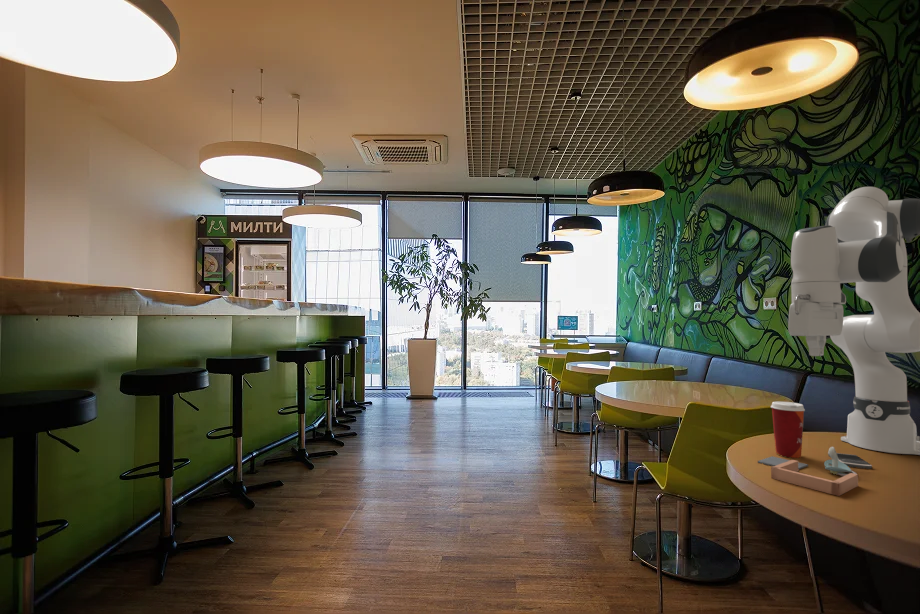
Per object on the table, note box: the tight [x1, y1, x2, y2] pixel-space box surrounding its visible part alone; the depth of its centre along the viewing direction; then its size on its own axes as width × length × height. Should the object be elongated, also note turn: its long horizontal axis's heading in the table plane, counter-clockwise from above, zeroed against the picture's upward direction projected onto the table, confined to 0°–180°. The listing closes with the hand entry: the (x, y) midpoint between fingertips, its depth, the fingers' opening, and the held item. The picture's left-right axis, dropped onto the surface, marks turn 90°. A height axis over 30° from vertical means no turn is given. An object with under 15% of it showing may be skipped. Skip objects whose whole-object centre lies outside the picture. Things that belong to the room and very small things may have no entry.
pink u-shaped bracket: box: [770, 459, 859, 497], centre depth 101 cm, size 11×12×2 cm
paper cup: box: [770, 401, 806, 459], centre depth 122 cm, size 8×8×14 cm
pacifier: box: [823, 446, 857, 477], centre depth 107 cm, size 7×6×6 cm
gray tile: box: [757, 455, 809, 471], centre depth 113 cm, size 8×8×1 cm
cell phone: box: [827, 452, 873, 470], centre depth 116 cm, size 6×11×1 cm, turn 156°
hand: (816, 355), depth 102 cm, fingers closed
